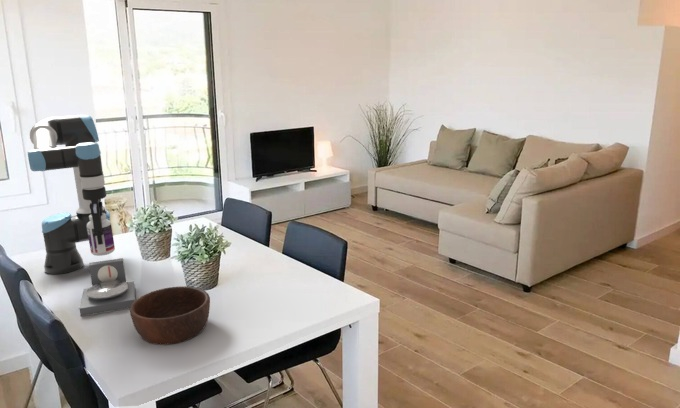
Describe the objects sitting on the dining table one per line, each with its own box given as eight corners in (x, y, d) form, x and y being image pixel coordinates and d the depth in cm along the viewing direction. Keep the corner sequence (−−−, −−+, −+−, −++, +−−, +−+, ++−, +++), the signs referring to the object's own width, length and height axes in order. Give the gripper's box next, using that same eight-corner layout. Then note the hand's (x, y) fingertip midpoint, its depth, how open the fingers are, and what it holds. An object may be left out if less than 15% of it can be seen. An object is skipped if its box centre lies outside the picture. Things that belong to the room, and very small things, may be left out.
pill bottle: (120, 250, 197) (114, 212, 193) (104, 257, 190) (98, 218, 186) (102, 247, 199) (96, 210, 196) (85, 255, 192) (79, 217, 188)
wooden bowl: (218, 311, 189) (216, 284, 187) (203, 348, 165) (200, 318, 163) (147, 313, 189) (144, 287, 186) (121, 351, 165) (117, 321, 162)
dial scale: (85, 292, 207) (80, 263, 204) (135, 285, 213) (131, 257, 210) (80, 316, 188) (75, 284, 185) (135, 307, 194) (130, 276, 191)
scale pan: (89, 289, 203) (88, 284, 202) (128, 283, 207) (127, 278, 207) (85, 304, 190) (85, 298, 189) (128, 297, 194) (127, 292, 194)
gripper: (83, 182, 196) (93, 240, 202) (79, 195, 177) (89, 259, 183) (106, 180, 199) (114, 238, 205) (103, 192, 180) (112, 256, 186)
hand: (102, 248), depth 194 cm, fingers closed on pill bottle, 8 cm apart
